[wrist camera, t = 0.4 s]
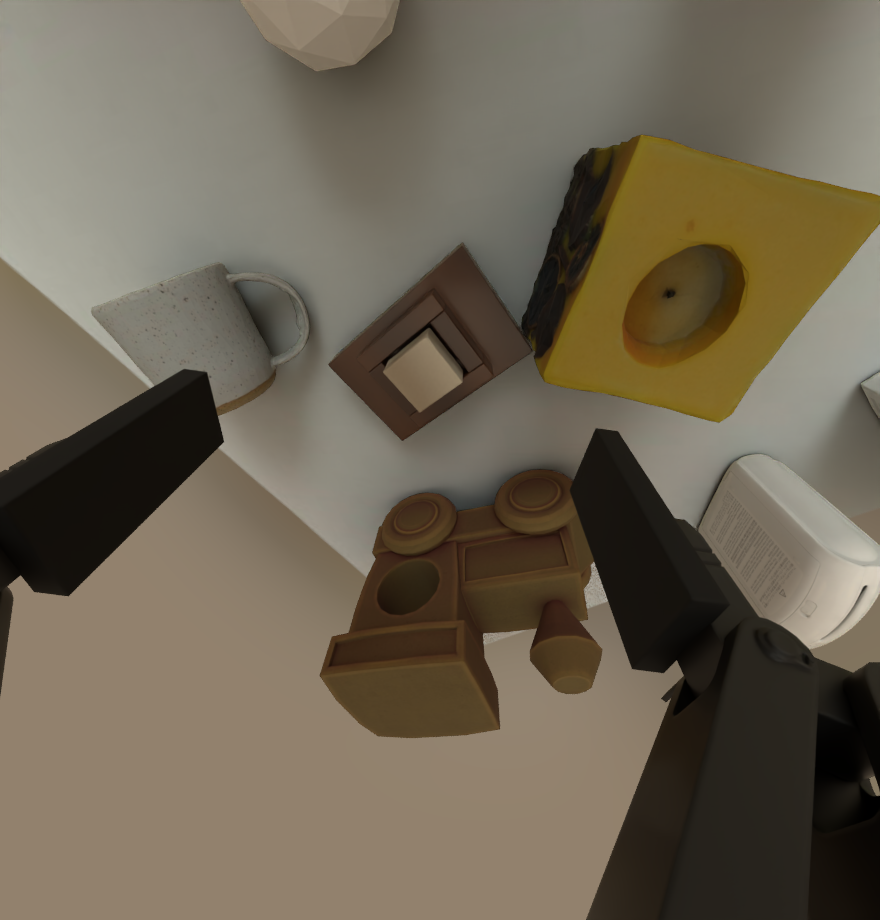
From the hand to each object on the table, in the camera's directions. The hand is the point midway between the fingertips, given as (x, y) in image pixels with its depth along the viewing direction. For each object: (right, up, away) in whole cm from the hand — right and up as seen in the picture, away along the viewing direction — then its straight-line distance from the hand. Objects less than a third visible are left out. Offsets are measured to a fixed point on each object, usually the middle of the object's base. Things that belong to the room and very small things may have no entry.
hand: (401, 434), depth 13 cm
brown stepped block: (+1, +7, +15) cm, 17 cm away
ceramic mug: (-13, +10, +14) cm, 22 cm away
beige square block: (0, +5, +12) cm, 13 cm away
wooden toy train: (+6, -7, +24) cm, 26 cm away
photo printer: (+28, -4, +21) cm, 35 cm away
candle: (+13, +12, +11) cm, 21 cm away
